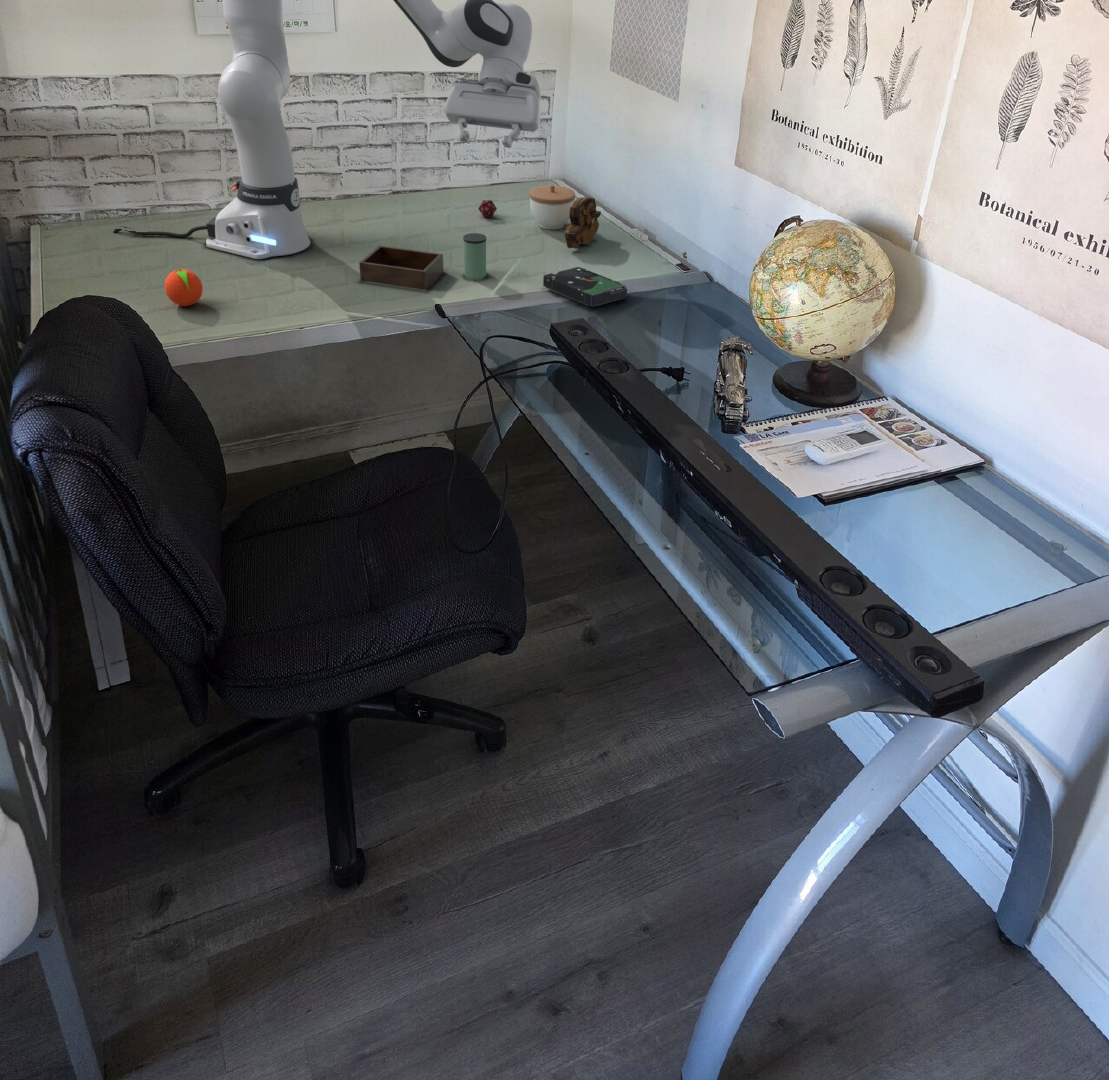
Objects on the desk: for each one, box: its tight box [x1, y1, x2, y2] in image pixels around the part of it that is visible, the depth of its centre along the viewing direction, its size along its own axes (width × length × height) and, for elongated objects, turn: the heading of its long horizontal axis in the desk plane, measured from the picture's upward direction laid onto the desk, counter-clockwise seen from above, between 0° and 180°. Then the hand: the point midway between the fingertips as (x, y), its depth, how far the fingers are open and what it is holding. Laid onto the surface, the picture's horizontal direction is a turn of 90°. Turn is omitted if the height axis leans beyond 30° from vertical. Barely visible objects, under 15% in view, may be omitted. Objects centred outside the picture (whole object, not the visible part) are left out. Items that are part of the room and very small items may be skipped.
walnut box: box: [358, 244, 444, 291], centre depth 207 cm, size 14×10×4 cm
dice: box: [477, 199, 498, 218], centre depth 239 cm, size 4×4×4 cm
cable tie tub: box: [462, 232, 487, 280], centre depth 208 cm, size 5×5×8 cm
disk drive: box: [542, 266, 628, 308], centre depth 204 cm, size 10×3×15 cm
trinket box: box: [529, 184, 576, 230], centre depth 234 cm, size 11×11×9 cm
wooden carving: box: [563, 196, 602, 249], centre depth 225 cm, size 16×5×10 cm, turn 161°
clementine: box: [164, 268, 203, 307], centre depth 192 cm, size 8×7×7 cm
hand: (485, 143), depth 207 cm, fingers open, 8 cm apart
